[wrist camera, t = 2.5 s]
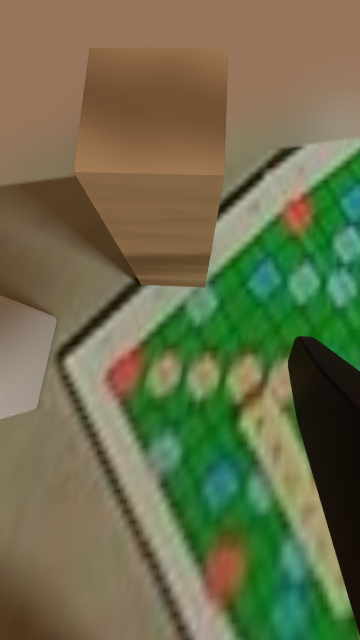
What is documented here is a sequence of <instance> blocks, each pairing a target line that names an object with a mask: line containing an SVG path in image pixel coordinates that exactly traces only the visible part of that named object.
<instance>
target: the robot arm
mask: <svg viewBox="0 0 360 640" xmlns="http://www.w3.org/2000/svg"><path fill="white" fill-rule="evenodd" d="M288 370H289V376H290V382H291V388H292V394H293V400H294V406H295V412H296V417H297V421H298V425H299V429H300V432H301V436H302V439H303V443H304V446H305V450H306V453H307V456H308V460H309V463H310V467H311V470H312V474H313V477H314V480H315V484H316V487H317V491H318V494H319V498H320V501H321V504H322V508H323V511H324V515H325V518H326V522H327V525H328V529H329V532H330V535H331V539H332V542H333V546H334V549H335V553H336V556H337V559H338V563H339V566H340V570H341V573H342V577H343V580H344V583H345V587H346V590H347V594H348V597H349V601H350V604H351V607H352V611H353V614H354V618H355V621H356V625H357V628H358V631H359V635H360V371H359V370H357V369H356V368H354V367H353V366H352V365H350V364H349V363H348V362H346V361H345V360H344V359H342V358H341V357H340V356H338V355H337V354H336V353H334V352H333V351H332V350H330V349H329V348H327V347H326V346H325V345H323V344H322V343H321V342H319V341H318V340H317V339H315V338H314V337H305V336H298V337H296V339H295V340H294V343H293V346H292V350H291V353H290V356H289V359H288Z"/></svg>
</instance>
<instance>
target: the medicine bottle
mask: <svg viewBox="0 0 360 640" xmlns="http://www.w3.org/2000/svg"><path fill="white" fill-rule="evenodd" d="M56 323H57V318H56V317H55V316H53V315H51V314H48V313H45V312H43V311H40V310H38V309H35V308H32V307H30V306H27V305H24V304H22V303H19V302H17V301H14V300H11V299H9V298H6V297H3V296H1V295H0V419H3V418H6V417H10V416H14V415H17V414H21V413H25V412H29V411H32V410H34V409H36V407H37V405H38V401H39V396H40V392H41V388H42V383H43V379H44V375H45V370H46V366H47V362H48V357H49V353H50V349H51V345H52V340H53V336H54V332H55V327H56Z"/></svg>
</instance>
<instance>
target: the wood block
mask: <svg viewBox="0 0 360 640" xmlns="http://www.w3.org/2000/svg"><path fill="white" fill-rule="evenodd" d="M227 71H228V48H89V57H88V64H87V71H86V80H85V87H84V95H83V103H82V110H81V118H80V126H79V134H78V141H77V149H76V157H75V164H74V174H75V175H76V177H77V179H78V180H79V182H80V184H81V185H82V187H83V189H84V190H85V192H86V194H87V195H88V197H89V199H90V200H91V202H92V204H93V205H94V207H95V209H96V210H97V212H98V214H99V215H100V217H101V219H102V220H103V222H104V224H105V225H106V227H107V229H108V230H109V232H110V234H111V235H112V237H113V239H114V240H115V242H116V244H117V245H118V247H119V249H120V250H121V252H122V254H123V255H124V257H125V259H126V260H127V262H128V264H129V265H130V267H131V269H132V270H133V272H134V274H135V275H136V277H137V279H138V280H139V282H140V284H141V285H159V286H183V287H205V284H206V278H207V272H208V267H209V261H210V255H211V249H212V243H213V238H214V232H215V226H216V220H217V214H218V209H219V203H220V197H221V191H222V185H223V180H224V167H225V134H226V102H227Z"/></svg>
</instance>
